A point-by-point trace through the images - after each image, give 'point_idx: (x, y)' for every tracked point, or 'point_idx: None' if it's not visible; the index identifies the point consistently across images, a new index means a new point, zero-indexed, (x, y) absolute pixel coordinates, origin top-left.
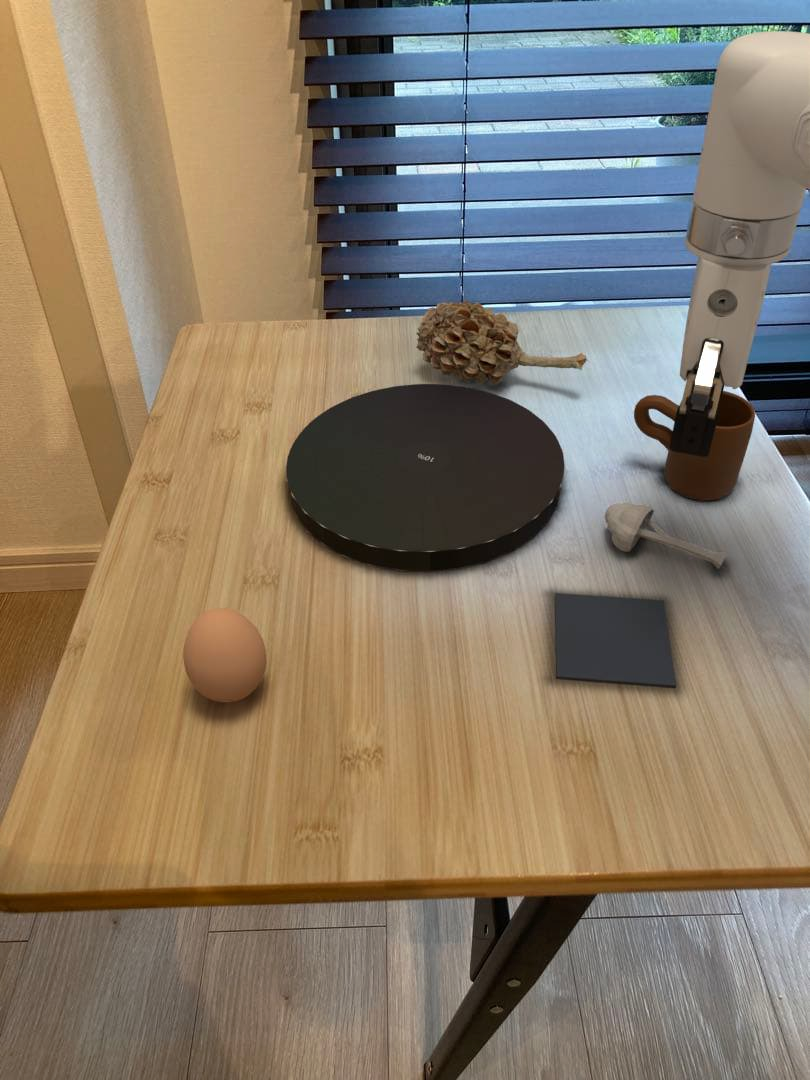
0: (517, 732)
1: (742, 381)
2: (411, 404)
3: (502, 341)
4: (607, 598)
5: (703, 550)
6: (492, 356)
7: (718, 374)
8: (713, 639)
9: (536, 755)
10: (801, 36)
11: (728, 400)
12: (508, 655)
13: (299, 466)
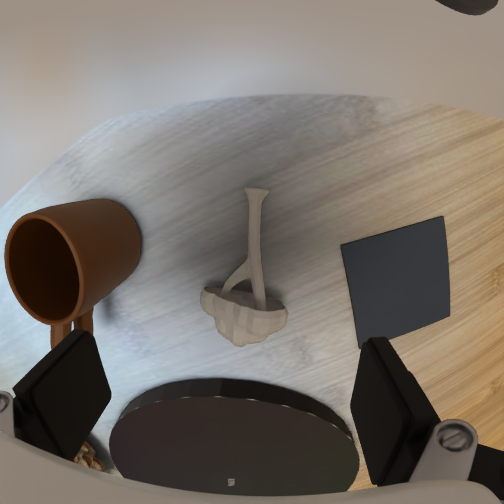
0: (487, 321)
1: (452, 500)
2: None
3: None
4: (355, 302)
5: (255, 216)
6: (80, 464)
7: (65, 383)
8: (376, 184)
9: (500, 303)
10: None
11: (13, 255)
12: (430, 355)
13: None
